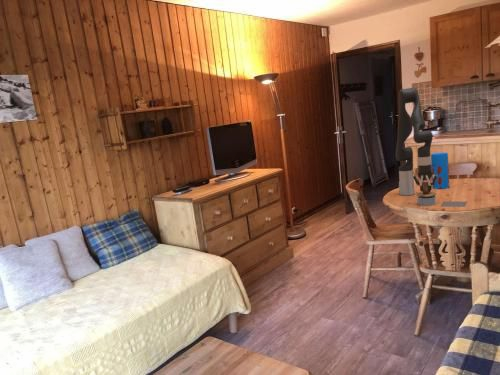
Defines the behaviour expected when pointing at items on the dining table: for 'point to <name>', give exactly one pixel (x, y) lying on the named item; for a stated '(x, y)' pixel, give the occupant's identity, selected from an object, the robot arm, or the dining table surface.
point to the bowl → (426, 200)
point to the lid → (425, 191)
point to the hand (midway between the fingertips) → (426, 191)
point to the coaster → (453, 204)
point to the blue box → (440, 170)
